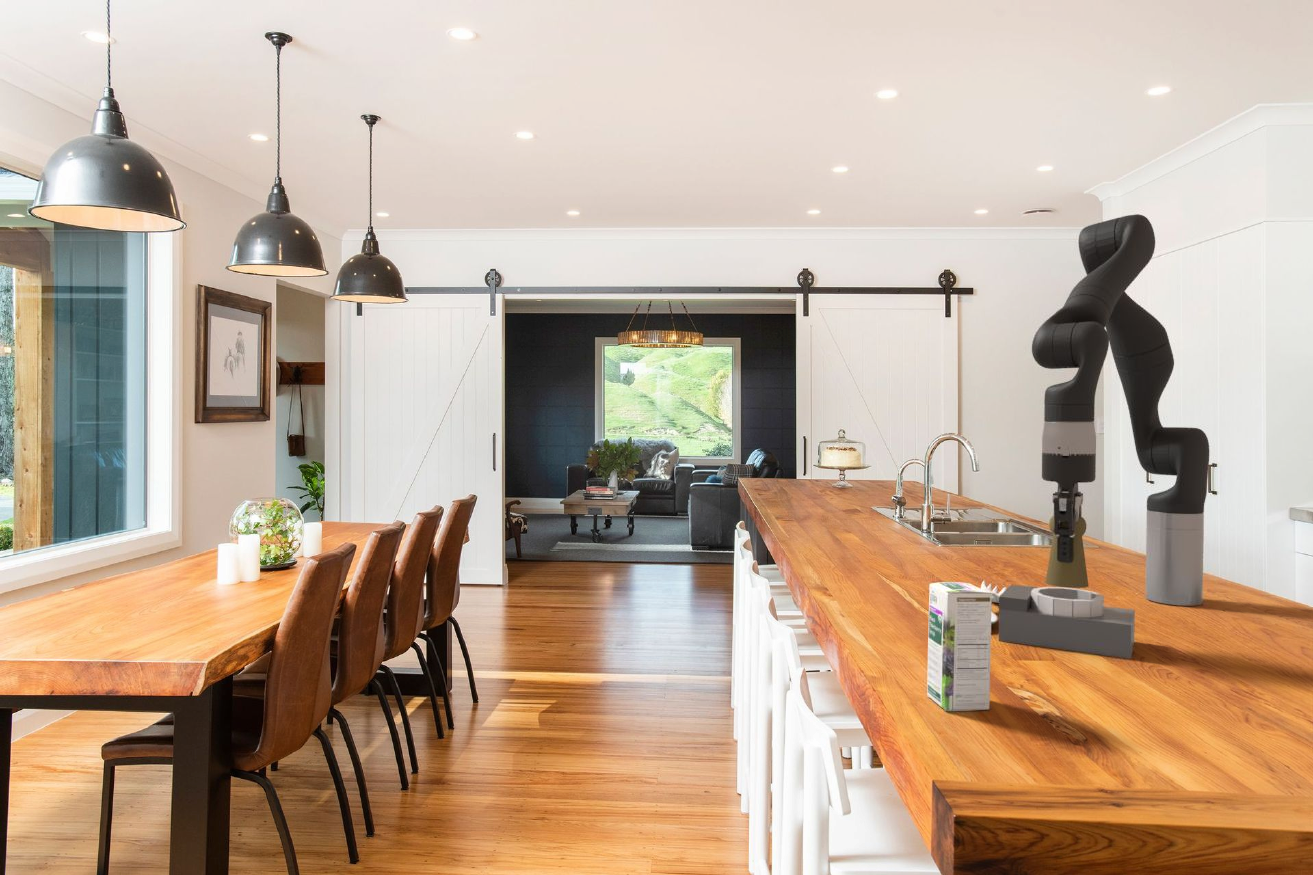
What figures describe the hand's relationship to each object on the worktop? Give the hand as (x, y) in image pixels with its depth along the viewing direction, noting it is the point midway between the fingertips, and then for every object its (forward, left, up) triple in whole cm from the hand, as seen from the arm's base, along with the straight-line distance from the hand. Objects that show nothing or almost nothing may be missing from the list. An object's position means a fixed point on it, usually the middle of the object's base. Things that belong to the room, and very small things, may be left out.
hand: (1067, 558), depth 127 cm
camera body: (0, 0, -13) cm, 13 cm away
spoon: (-13, -14, -14) cm, 23 cm away
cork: (0, 0, -4) cm, 4 cm away
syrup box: (+38, -8, -13) cm, 41 cm away
